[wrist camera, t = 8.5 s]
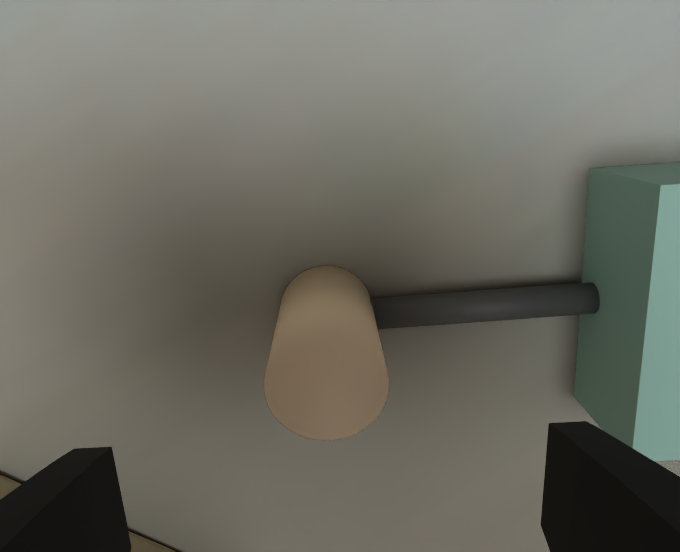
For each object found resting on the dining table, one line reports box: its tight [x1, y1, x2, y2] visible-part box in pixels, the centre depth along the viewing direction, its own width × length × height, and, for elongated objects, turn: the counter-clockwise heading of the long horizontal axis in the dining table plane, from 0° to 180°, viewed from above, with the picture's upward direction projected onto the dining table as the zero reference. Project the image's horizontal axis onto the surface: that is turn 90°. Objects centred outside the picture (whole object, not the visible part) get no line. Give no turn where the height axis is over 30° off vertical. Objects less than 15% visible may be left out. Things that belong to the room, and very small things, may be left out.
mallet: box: [264, 162, 680, 461], centre depth 16 cm, size 8×20×6 cm, turn 94°
